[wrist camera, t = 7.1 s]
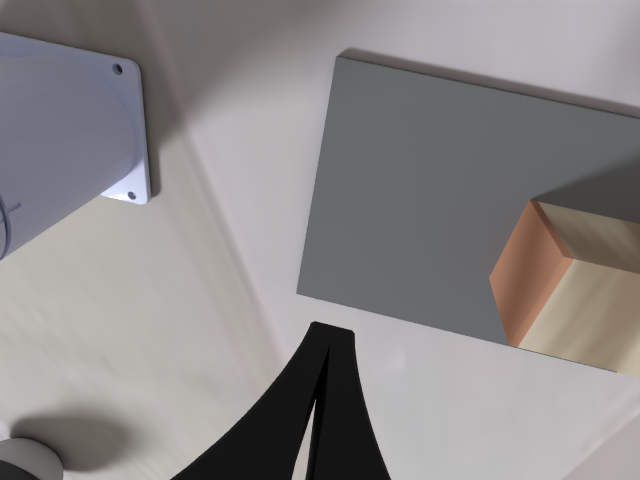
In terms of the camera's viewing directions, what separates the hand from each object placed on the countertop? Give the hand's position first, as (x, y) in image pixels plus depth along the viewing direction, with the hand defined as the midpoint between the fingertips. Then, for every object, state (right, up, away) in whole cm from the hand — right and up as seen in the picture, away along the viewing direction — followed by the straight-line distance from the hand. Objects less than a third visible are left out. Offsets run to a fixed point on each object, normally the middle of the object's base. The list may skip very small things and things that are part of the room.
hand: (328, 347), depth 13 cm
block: (+9, +2, +6) cm, 11 cm away
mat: (+9, +4, +8) cm, 13 cm away
